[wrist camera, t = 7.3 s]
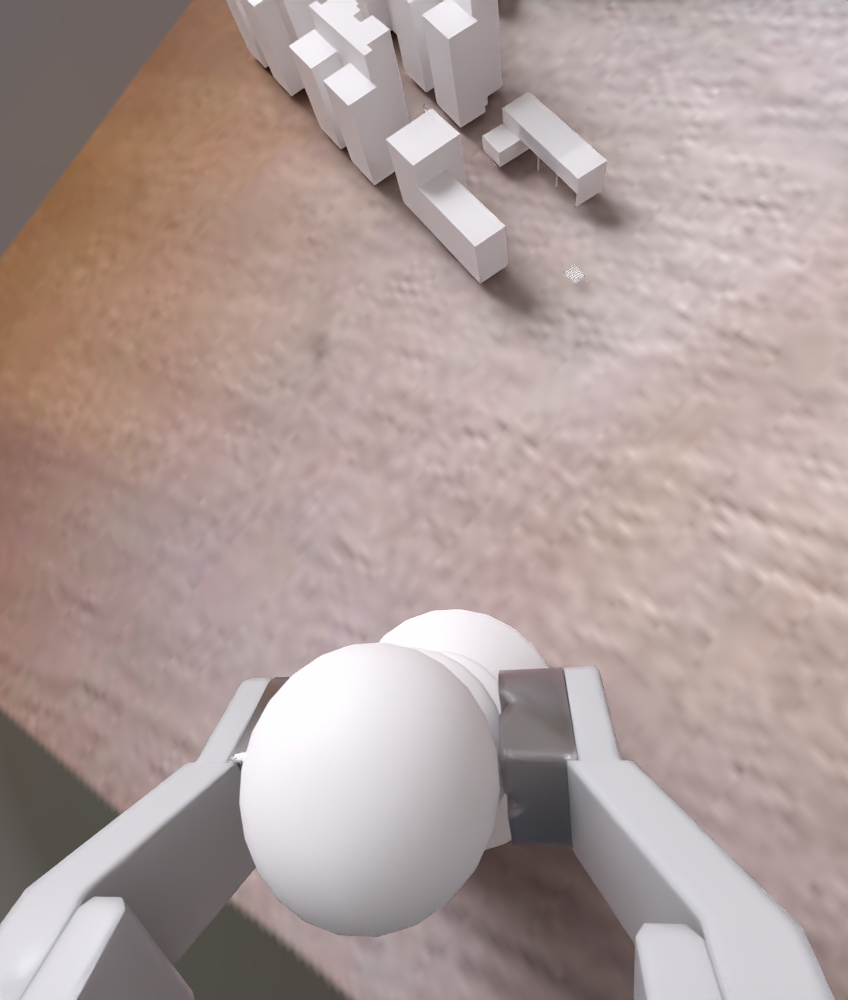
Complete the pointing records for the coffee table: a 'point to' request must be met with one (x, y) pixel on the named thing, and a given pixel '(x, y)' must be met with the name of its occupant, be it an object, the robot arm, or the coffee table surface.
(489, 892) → the coffee table surface
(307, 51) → the modular blocks
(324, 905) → the chess pawn
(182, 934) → the robot arm
